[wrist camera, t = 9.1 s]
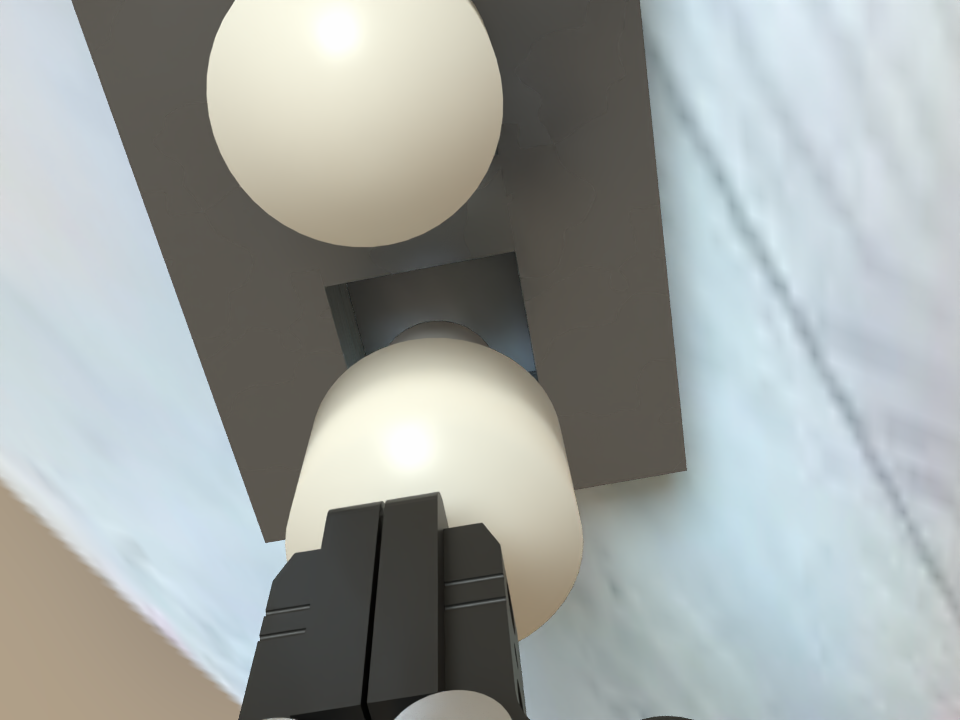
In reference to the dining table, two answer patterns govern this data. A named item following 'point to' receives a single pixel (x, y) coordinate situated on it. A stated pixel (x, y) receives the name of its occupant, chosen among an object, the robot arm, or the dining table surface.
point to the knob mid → (356, 112)
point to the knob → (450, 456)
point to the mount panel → (418, 238)
